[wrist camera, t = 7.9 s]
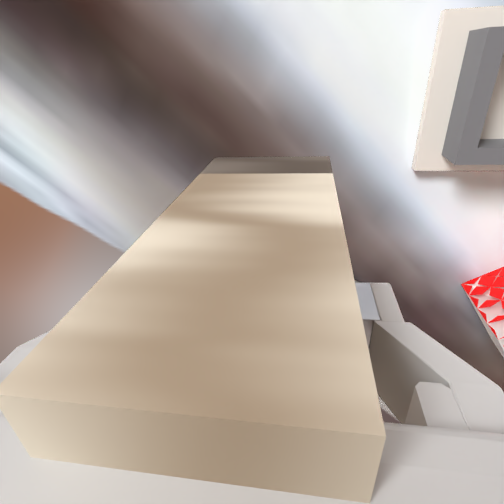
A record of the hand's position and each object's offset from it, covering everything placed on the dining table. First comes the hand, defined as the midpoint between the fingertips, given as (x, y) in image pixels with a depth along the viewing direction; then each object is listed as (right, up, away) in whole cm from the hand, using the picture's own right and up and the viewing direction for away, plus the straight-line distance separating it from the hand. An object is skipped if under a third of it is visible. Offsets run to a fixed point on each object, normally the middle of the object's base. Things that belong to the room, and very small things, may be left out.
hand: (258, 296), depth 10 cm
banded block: (+1, +2, +4) cm, 4 cm away
